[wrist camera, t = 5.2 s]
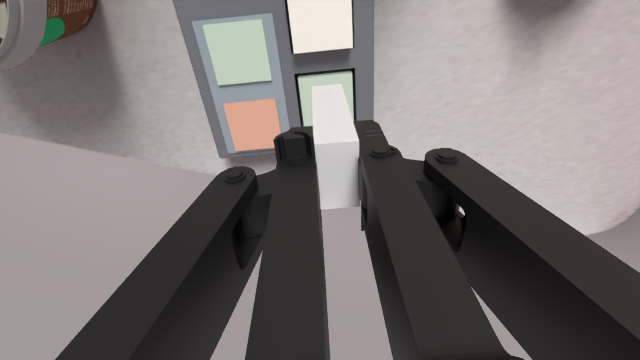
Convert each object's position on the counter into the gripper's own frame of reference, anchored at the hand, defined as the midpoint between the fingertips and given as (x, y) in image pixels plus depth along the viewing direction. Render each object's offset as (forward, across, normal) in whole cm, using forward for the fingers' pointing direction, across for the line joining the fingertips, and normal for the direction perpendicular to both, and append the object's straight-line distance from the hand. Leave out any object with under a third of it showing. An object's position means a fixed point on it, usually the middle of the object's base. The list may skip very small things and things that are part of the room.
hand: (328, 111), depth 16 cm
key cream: (+12, 0, +4) cm, 12 cm away
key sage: (+13, 0, -3) cm, 13 cm away
